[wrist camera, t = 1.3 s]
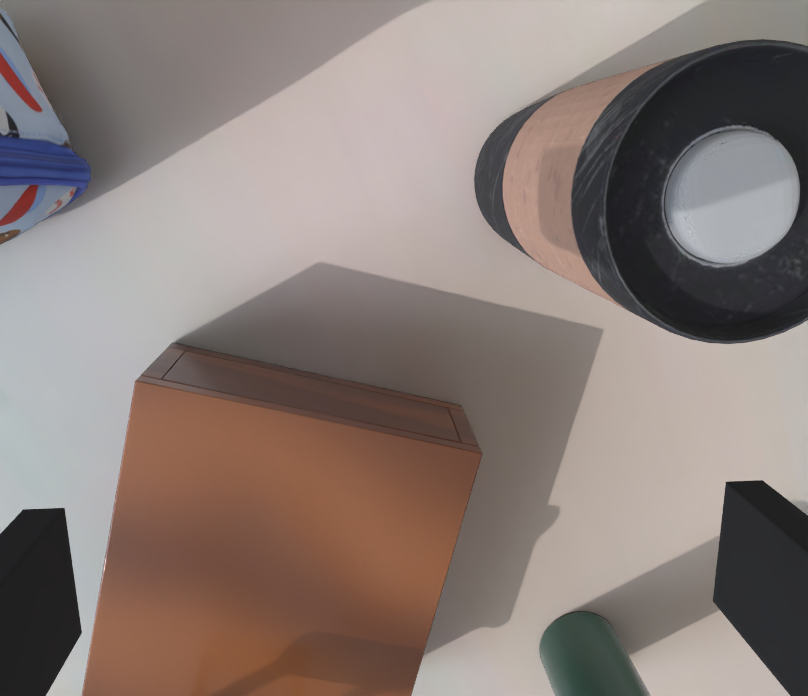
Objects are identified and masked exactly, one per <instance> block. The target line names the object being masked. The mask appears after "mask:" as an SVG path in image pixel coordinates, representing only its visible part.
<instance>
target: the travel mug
mask: <svg viewBox="0 0 808 696" xmlns="http://www.w3.org/2000/svg"><path fill="white" fill-rule="evenodd" d="M474 181H475V193H476V198H477V202H478V205H479V208H480V210H481V212H482V214H483V216H484V218H485V219H486V221H487V222H488V223H489V225H490V226H491V227H492V228H493V230H494V231H496V232H497V233H498V234H499V235H500V236H501V237H502V238H504V239H505V240H506V241H508V242H509V243H511V244H512V245H513V246H515V247H516V248H518V249H519V250H520V251H522V252H523V253H525V254H526V255H528V256H529V257H530V258H532V259H533V260H535V261H536V262H538V263H539V264H540V265H542V266H543V267H545V268H546V269H548V270H550V271H552V272H554V273H556V274H558V275H560V276H562V277H564V278H566V279H568V280H570V281H572V282H574V283H576V284H578V285H579V286H581V287H583V288H585V289H587V290H589V291H591V292H593V293H595V294H597V295H599V296H601V297H603V298H605V299H607V300H609V301H611V302H613V303H615V304H617V305H618V306H620V307H622V308H624V309H626V310H628V311H630V312H632V313H634V314H636V315H638V316H640V317H642V318H644V319H646V320H648V321H650V322H651V323H653V324H655V325H657V326H659V327H661V328H663V329H665V330H667V331H669V332H672V333H674V334H677V335H680V336H683V337H686V338H689V339H693V340H698V341H703V342H708V343H722V344H733V343H746V342H751V341H756V340H761V339H765V338H768V337H771V336H774V335H777V334H780V333H783V332H785V331H787V330H789V329H792V328H794V327H796V326H798V325H800V324H802V323H803V322H805V321H807V320H808V46H805V45H801V44H796V43H791V42H786V41H776V40H764V39H762V40H744V41H737V42H732V43H727V44H722V45H717V46H714V47H710V48H707V49H704V50H700V51H697V52H693V53H690V54H687V55H683V56H680V57H676V58H673V59H670V60H666V61H663V62H659V63H656V64H652V65H649V66H646V67H642V68H639V69H635V70H632V71H628V72H625V73H622V74H618V75H615V76H611V77H608V78H604V79H601V80H598V81H594V82H591V83H587V84H584V85H580V86H577V87H575V88H572V89H569V90H566V91H564V92H561V93H559V94H557V95H555V96H552V97H550V98H548V99H546V100H543V101H541V102H539V103H537V104H535V105H532V106H530V107H528V108H526V109H524V110H522V111H520V112H518V113H516V114H514V115H512V116H511V117H509V118H508V119H506V120H505V121H504V122H502V123H501V124H500V125H499V126H498V127H497V128H496V129H495V130H494V131H493V132H492V133H491V135H490V136H489V137H488V139H487V140H486V142H485V144H484V146H483V148H482V149H481V152H480V154H479V157H478V160H477V164H476V169H475V178H474Z"/></svg>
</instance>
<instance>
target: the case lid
mask: <svg viewBox="0 0 808 696" xmlns="http://www.w3.org/2000/svg"><path fill="white" fill-rule="evenodd" d="M481 456H482V452H481V450H480V448H479V447H477V446H472V445H467V444H462V443H458V442H453V441H448V440H443V439H439V438H434V437H429V436H424V435H420V434H415V433H410V432H405V431H401V430H396V429H391V428H386V427H382V426H377V425H372V424H367V423H363V422H358V421H353V420H348V419H344V418H339V417H334V416H330V415H325V414H320V413H315V412H311V411H306V410H301V409H296V408H292V407H287V406H282V405H277V404H273V403H268V402H263V401H258V400H254V399H249V398H244V397H239V396H235V395H230V394H225V393H220V392H216V391H211V390H206V389H201V388H197V387H192V386H187V385H182V384H178V383H173V382H168V381H164V380H159V379H154V378H149V377H145V376H140V377H139V378H138V379H137V380H136V381H135V385H134V391H133V397H132V403H131V409H130V415H129V421H128V427H127V432H126V438H125V444H124V450H123V456H122V462H121V468H120V474H119V479H118V485H117V491H116V497H115V503H114V509H113V515H112V521H111V526H110V532H109V538H108V544H107V550H106V556H105V562H104V568H103V573H102V579H101V585H100V591H99V597H98V603H97V609H96V615H95V620H94V626H93V632H92V638H91V644H90V650H89V656H88V662H87V667H86V673H85V679H84V685H83V691H82V696H411V694H412V691H413V688H414V684H415V681H416V677H417V674H418V671H419V667H420V664H421V660H422V657H423V654H424V650H425V647H426V643H427V640H428V637H429V633H430V630H431V626H432V623H433V620H434V616H435V613H436V609H437V606H438V603H439V599H440V596H441V592H442V589H443V586H444V582H445V579H446V575H447V572H448V569H449V565H450V562H451V558H452V555H453V552H454V548H455V545H456V541H457V538H458V535H459V531H460V528H461V524H462V521H463V518H464V514H465V511H466V507H467V504H468V501H469V497H470V494H471V490H472V487H473V484H474V480H475V477H476V473H477V470H478V467H479V463H480V460H481Z"/></svg>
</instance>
